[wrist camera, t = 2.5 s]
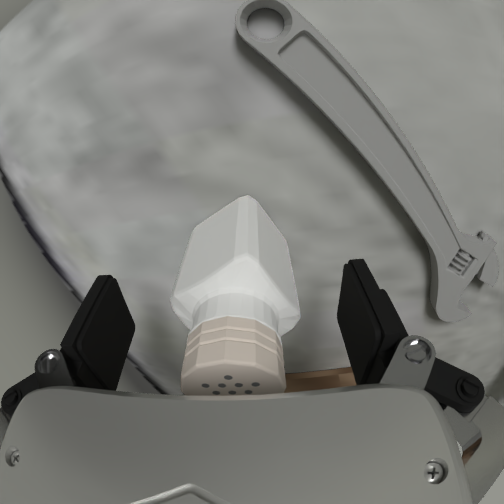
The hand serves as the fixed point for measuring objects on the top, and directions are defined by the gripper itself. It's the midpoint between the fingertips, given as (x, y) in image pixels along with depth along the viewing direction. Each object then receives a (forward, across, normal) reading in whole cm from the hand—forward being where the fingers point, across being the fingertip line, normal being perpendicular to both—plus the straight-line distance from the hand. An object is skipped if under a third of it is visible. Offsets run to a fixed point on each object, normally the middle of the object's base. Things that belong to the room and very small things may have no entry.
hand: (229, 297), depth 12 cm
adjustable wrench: (+6, -11, -3) cm, 12 cm away
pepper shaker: (+5, 0, 0) cm, 5 cm away
